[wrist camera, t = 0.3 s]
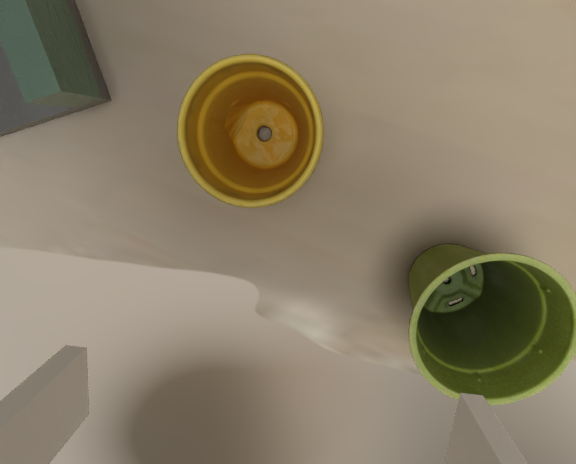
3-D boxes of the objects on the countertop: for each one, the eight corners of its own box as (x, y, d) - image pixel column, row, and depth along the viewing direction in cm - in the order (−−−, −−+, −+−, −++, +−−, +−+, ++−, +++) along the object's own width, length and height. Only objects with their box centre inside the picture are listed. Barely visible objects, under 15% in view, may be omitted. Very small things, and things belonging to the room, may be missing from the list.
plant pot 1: (190, 109, 36) (147, 100, 27) (289, 53, 34) (281, 22, 25) (243, 208, 38) (220, 232, 29) (340, 159, 36) (349, 168, 27)
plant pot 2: (439, 194, 37) (494, 219, 26) (531, 269, 38) (620, 323, 27) (357, 286, 39) (375, 343, 28) (445, 353, 40) (495, 434, 29)
